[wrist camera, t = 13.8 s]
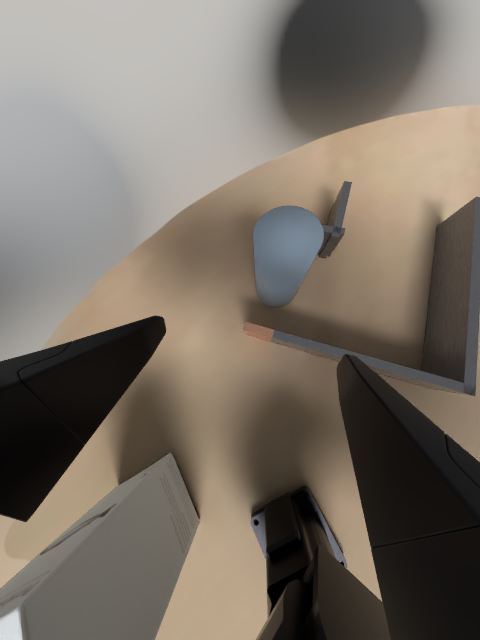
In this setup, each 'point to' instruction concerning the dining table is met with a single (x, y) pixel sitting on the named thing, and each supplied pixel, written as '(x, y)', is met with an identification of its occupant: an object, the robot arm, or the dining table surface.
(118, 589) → the supplement box
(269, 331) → the bent channel
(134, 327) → the robot arm
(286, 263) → the slate peg
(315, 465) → the dining table surface
